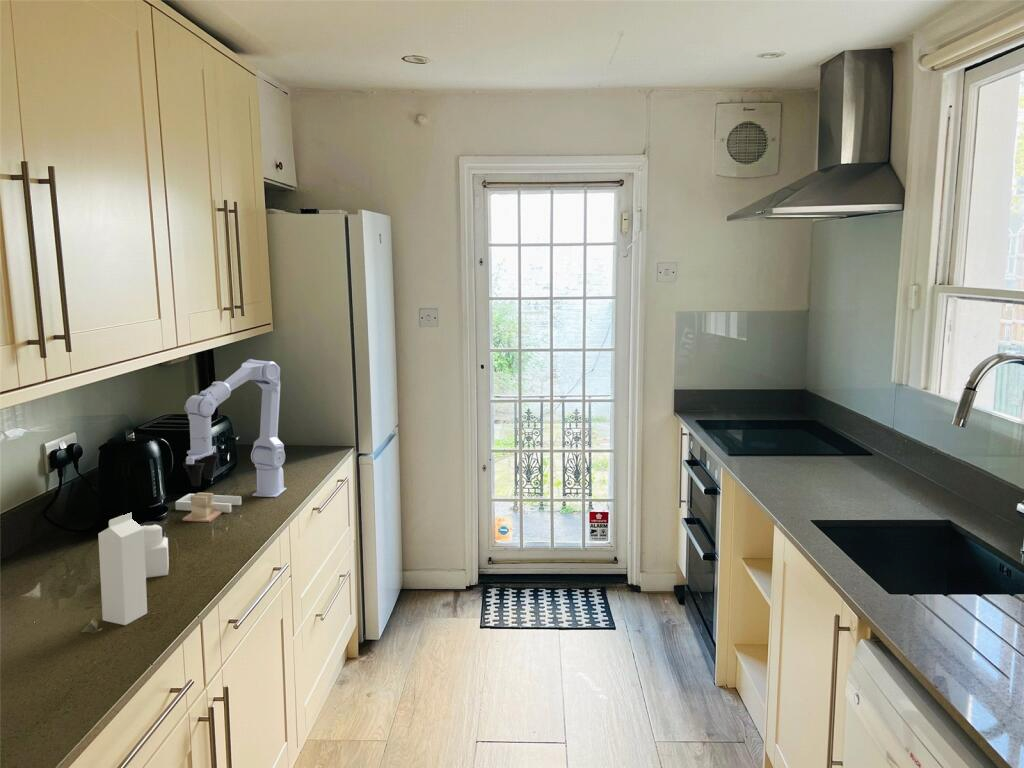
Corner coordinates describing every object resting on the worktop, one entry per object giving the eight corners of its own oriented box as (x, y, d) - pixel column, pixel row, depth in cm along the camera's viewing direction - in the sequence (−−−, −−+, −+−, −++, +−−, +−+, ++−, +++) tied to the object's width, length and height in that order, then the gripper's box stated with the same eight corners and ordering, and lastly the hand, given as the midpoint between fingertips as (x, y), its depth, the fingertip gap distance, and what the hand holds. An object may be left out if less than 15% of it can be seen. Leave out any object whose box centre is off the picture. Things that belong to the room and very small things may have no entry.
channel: (189, 501, 234) (189, 493, 233) (241, 504, 233) (241, 496, 232) (175, 509, 225) (175, 501, 225) (229, 512, 224) (229, 504, 224)
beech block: (198, 511, 222) (198, 492, 221) (213, 512, 222) (213, 493, 221) (191, 516, 218) (190, 496, 217) (206, 517, 218) (206, 497, 217)
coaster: (196, 511, 224) (195, 509, 224) (222, 513, 224) (221, 511, 224) (182, 520, 216) (182, 518, 216) (209, 521, 216) (209, 519, 216)
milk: (102, 621, 155) (96, 518, 152) (125, 608, 161) (120, 509, 157) (125, 625, 153) (119, 522, 150) (148, 613, 159) (143, 513, 156)
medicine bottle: (136, 568, 182) (134, 520, 180) (168, 564, 185) (167, 517, 183) (134, 579, 175) (132, 530, 174) (168, 575, 178) (166, 527, 176)
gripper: (199, 430, 224) (200, 474, 226) (174, 441, 210) (176, 488, 212) (222, 431, 224) (223, 475, 226) (199, 442, 210) (200, 489, 212)
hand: (202, 482), depth 219 cm, fingers open, 7 cm apart
